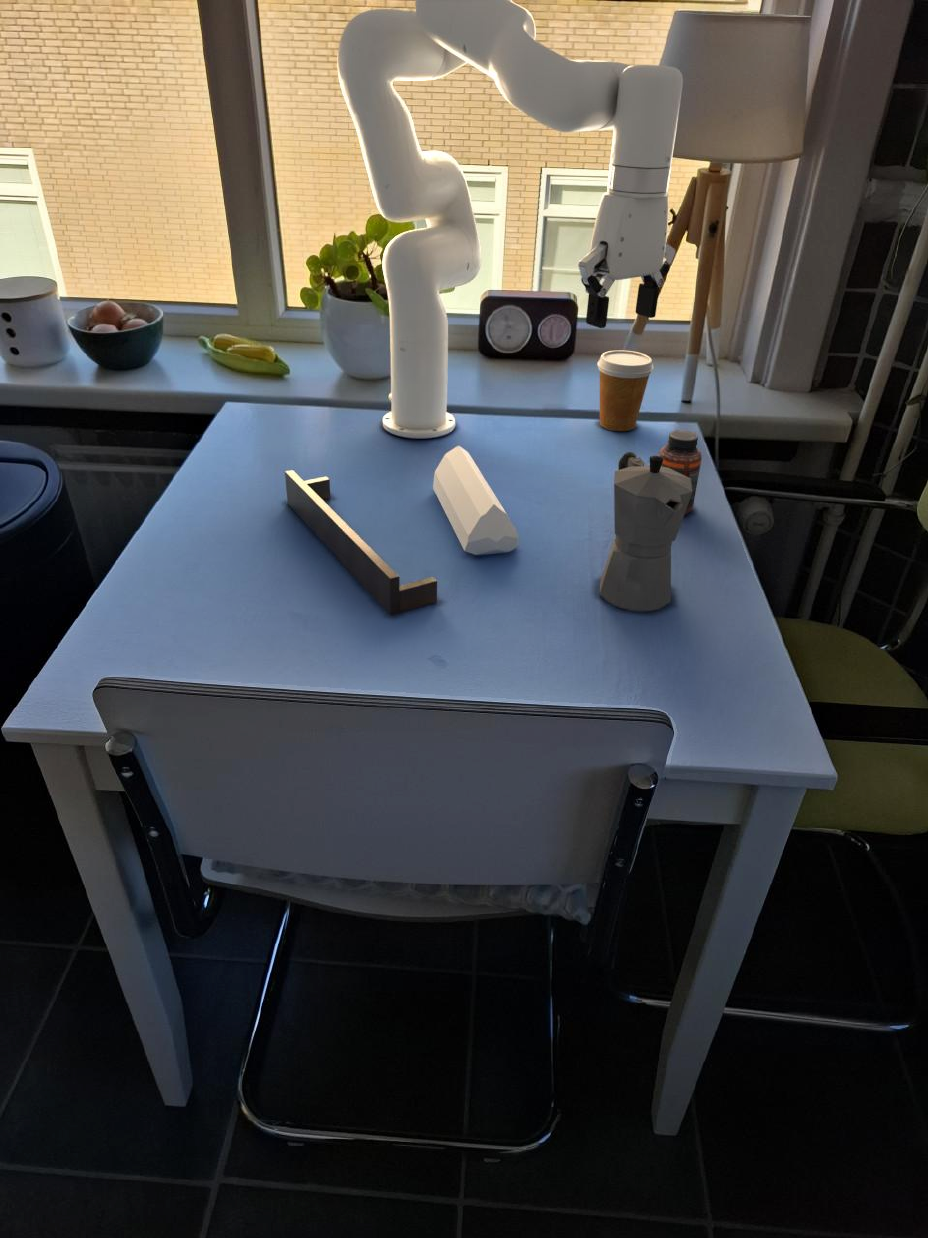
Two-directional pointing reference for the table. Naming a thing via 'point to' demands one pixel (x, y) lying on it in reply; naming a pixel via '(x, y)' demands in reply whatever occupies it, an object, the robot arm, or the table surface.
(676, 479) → the coffeepot
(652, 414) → the table surface
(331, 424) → the table surface
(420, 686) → the table surface
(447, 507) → the crystal
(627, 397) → the disposable coffee cup
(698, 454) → the supplement bottle
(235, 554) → the table surface
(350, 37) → the robot arm
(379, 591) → the frame
